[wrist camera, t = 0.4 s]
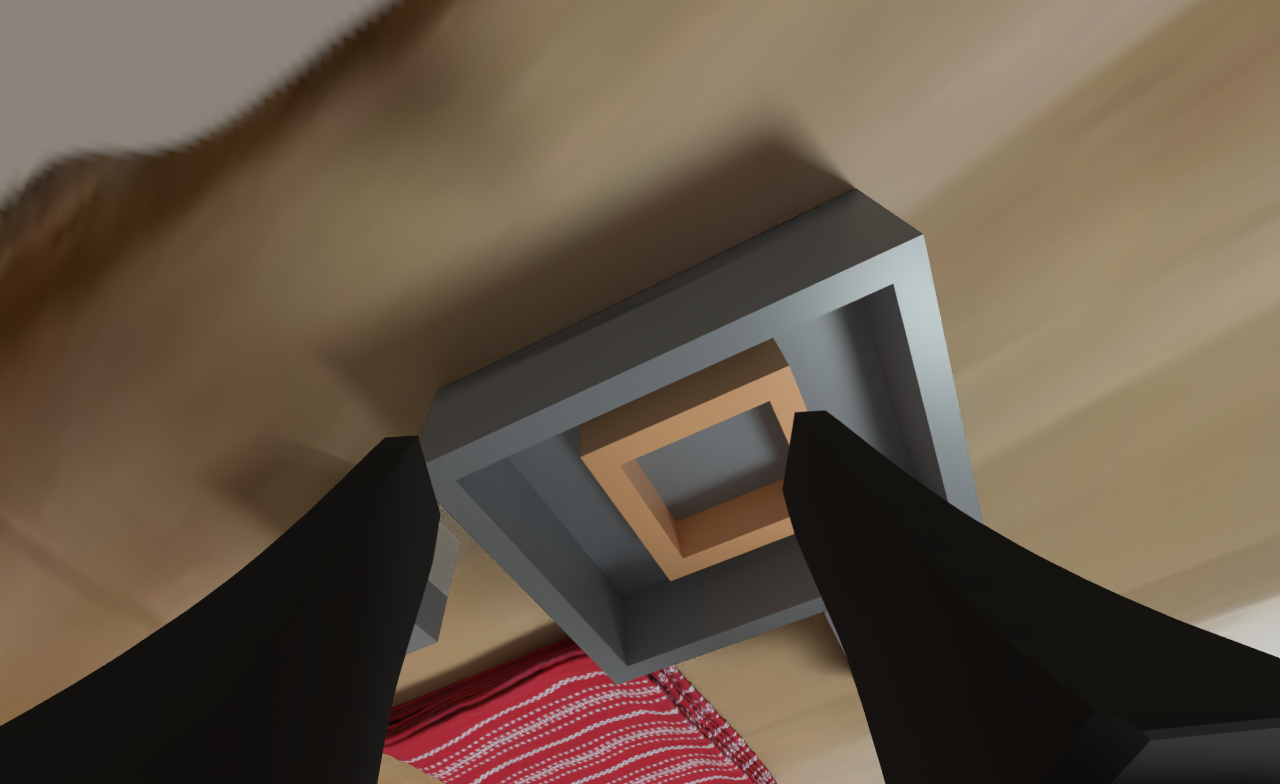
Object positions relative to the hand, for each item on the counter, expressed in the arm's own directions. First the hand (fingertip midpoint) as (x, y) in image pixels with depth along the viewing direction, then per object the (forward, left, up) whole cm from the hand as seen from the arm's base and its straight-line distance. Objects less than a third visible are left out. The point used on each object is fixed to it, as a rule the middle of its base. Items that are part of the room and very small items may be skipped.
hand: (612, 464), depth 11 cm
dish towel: (-28, +15, -11) cm, 34 cm away
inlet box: (-8, -1, -10) cm, 13 cm away
